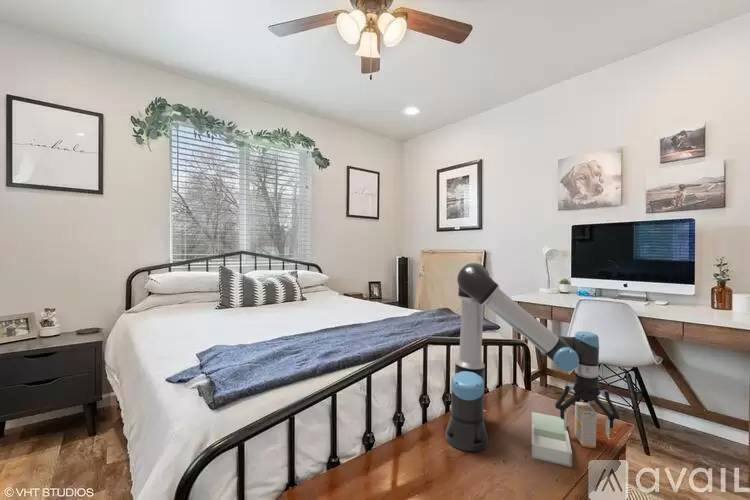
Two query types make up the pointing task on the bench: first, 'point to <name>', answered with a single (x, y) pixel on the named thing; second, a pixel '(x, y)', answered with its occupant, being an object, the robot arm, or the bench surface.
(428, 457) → the bench surface
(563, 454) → the tray
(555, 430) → the board
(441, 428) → the bench surface
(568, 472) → the bench surface
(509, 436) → the bench surface
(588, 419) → the supplement box
